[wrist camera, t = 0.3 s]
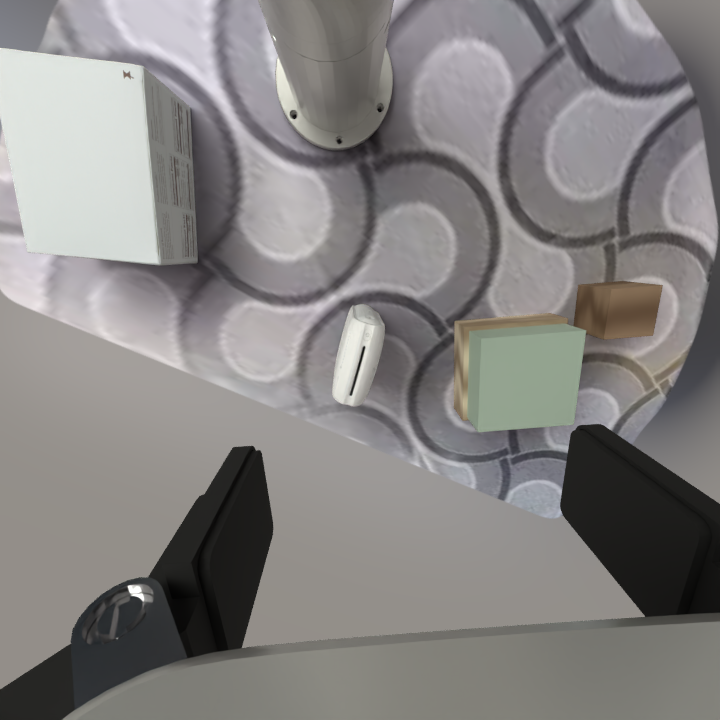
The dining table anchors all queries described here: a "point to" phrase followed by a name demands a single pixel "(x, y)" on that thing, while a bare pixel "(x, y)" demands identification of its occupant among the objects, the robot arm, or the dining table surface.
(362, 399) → the photo printer
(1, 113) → the supplement box
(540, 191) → the dining table surface
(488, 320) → the maple base block
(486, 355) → the sage top block
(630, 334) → the walnut cube
